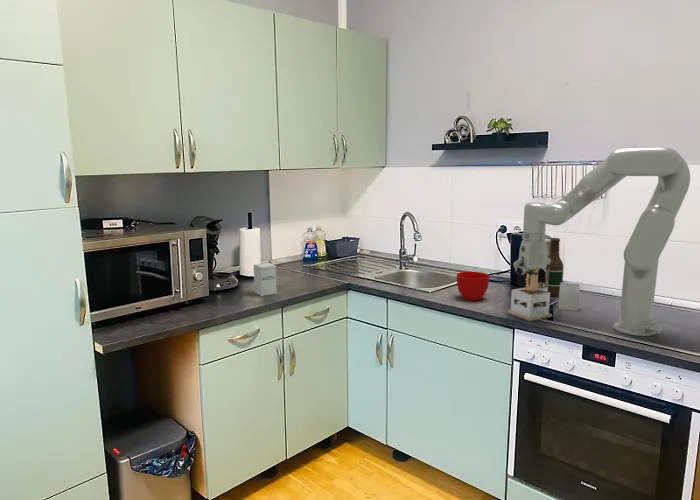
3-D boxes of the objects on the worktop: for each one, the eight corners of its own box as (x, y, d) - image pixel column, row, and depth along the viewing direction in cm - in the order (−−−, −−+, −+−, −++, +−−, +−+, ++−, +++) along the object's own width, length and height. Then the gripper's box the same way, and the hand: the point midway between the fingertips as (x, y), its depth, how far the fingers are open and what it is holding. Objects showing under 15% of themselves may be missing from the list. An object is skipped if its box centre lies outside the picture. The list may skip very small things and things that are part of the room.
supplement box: (261, 296, 218) (260, 267, 216) (254, 292, 224) (253, 264, 222) (277, 294, 222) (276, 265, 220) (269, 290, 228) (268, 262, 226)
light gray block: (578, 311, 196) (580, 285, 194) (558, 309, 198) (560, 283, 196) (577, 308, 199) (579, 283, 197) (558, 306, 201) (560, 281, 199)
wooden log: (535, 303, 206) (539, 241, 202) (525, 298, 213) (529, 238, 208) (550, 301, 208) (554, 240, 204) (540, 297, 214) (543, 237, 210)
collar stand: (551, 316, 188) (553, 292, 187) (529, 321, 184) (530, 296, 182) (529, 309, 198) (530, 286, 197) (507, 312, 193) (508, 289, 192)
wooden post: (537, 312, 190) (541, 264, 187) (529, 314, 188) (533, 265, 185) (529, 309, 193) (533, 262, 190) (521, 311, 192) (524, 263, 188)
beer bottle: (565, 295, 218) (569, 238, 213) (553, 297, 214) (556, 240, 210) (550, 291, 224) (553, 236, 220) (537, 293, 220) (541, 237, 216)
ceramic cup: (500, 297, 215) (501, 273, 214) (475, 304, 204) (476, 280, 203) (474, 291, 225) (474, 268, 223) (449, 298, 214) (450, 274, 212)
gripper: (523, 240, 179) (520, 288, 182) (559, 236, 186) (556, 283, 189) (507, 237, 185) (505, 284, 188) (543, 234, 193) (540, 279, 196)
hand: (531, 283), depth 189 cm, fingers open, 9 cm apart
